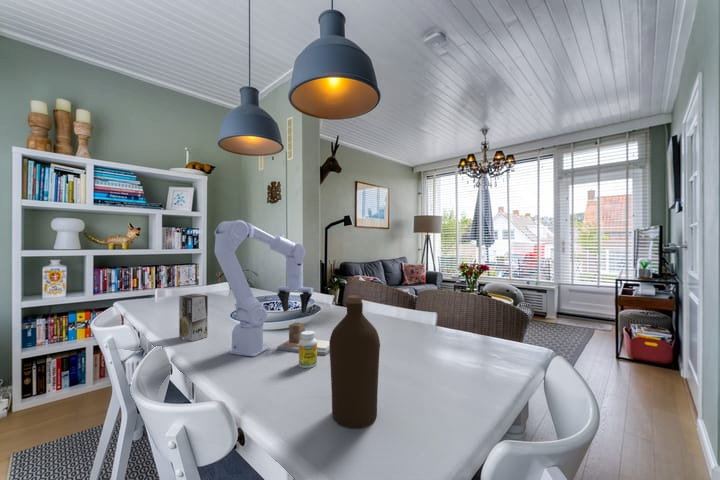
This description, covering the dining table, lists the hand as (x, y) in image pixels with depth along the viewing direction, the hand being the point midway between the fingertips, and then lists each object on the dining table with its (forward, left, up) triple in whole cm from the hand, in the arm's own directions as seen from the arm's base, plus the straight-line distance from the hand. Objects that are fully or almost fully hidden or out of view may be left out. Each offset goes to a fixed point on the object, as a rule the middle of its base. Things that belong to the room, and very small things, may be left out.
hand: (294, 311), depth 115 cm
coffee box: (-38, -10, -11) cm, 41 cm away
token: (+4, -6, -9) cm, 12 cm away
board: (+9, -6, -10) cm, 15 cm away
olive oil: (+38, -41, -11) cm, 57 cm away
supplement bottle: (+16, -20, -11) cm, 28 cm away
